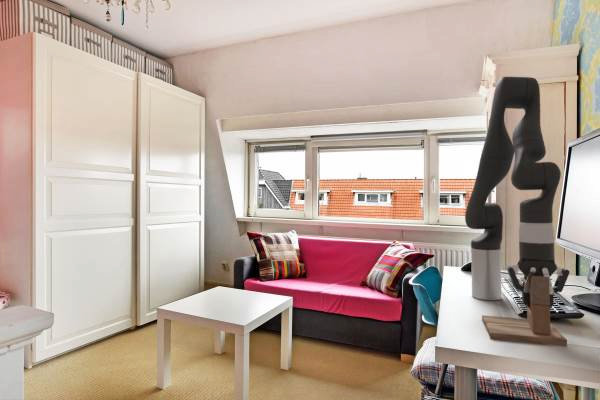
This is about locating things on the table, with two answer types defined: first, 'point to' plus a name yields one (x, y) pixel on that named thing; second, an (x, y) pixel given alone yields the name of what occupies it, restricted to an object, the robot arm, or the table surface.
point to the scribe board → (520, 331)
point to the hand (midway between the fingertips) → (537, 306)
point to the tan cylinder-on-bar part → (539, 305)
